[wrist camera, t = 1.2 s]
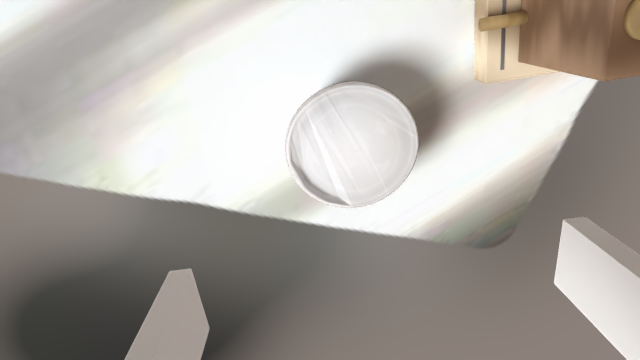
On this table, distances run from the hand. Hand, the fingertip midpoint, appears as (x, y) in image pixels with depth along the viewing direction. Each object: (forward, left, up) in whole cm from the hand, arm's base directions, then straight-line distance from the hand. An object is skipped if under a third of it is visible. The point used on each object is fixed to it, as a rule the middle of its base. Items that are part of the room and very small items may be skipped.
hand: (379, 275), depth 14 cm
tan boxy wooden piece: (-6, +17, -22) cm, 28 cm away
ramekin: (+2, +1, -25) cm, 25 cm away
